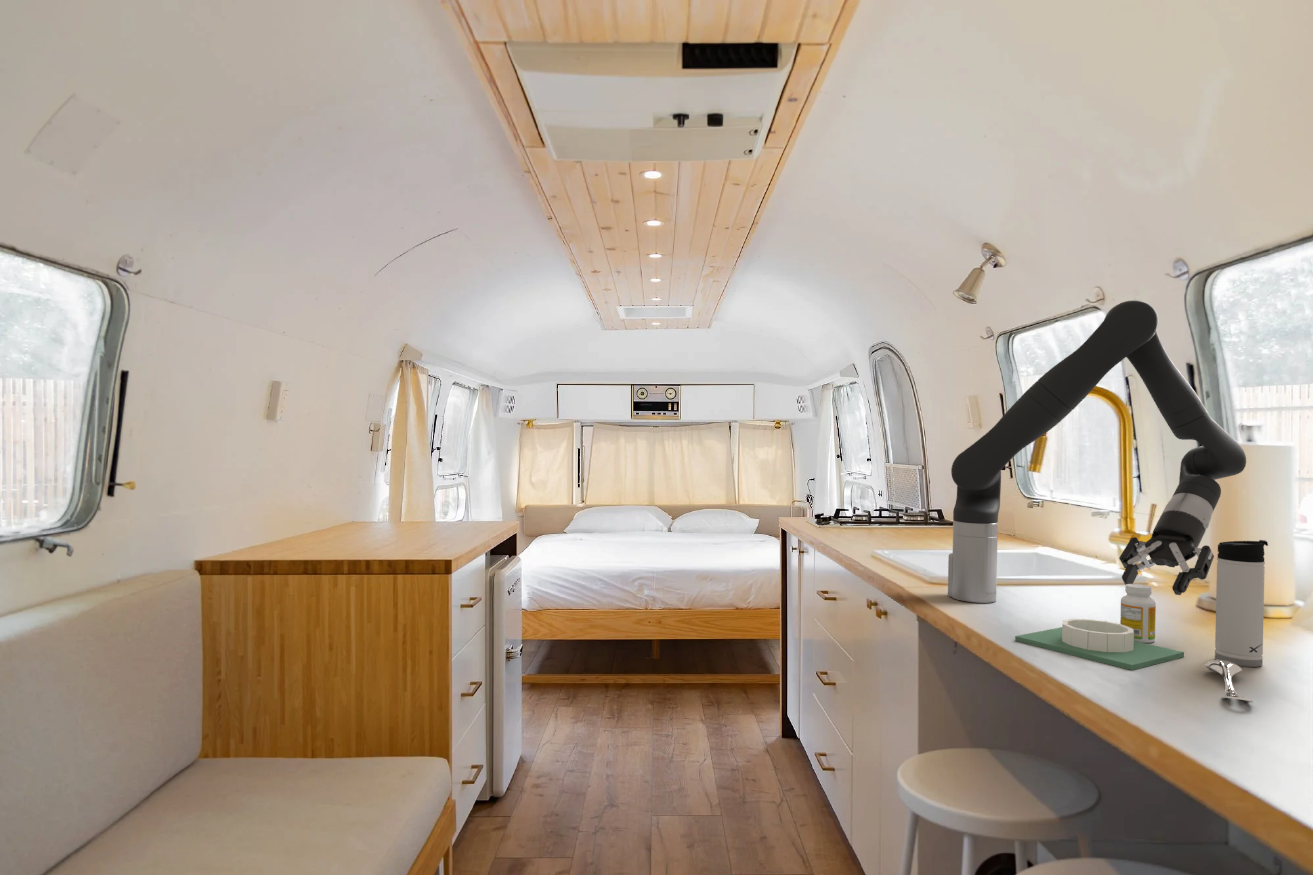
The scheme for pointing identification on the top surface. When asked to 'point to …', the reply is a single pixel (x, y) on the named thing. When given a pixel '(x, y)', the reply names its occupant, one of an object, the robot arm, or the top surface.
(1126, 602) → the supplement bottle
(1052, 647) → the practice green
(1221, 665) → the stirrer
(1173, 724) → the top surface
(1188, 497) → the robot arm
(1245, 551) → the travel mug
